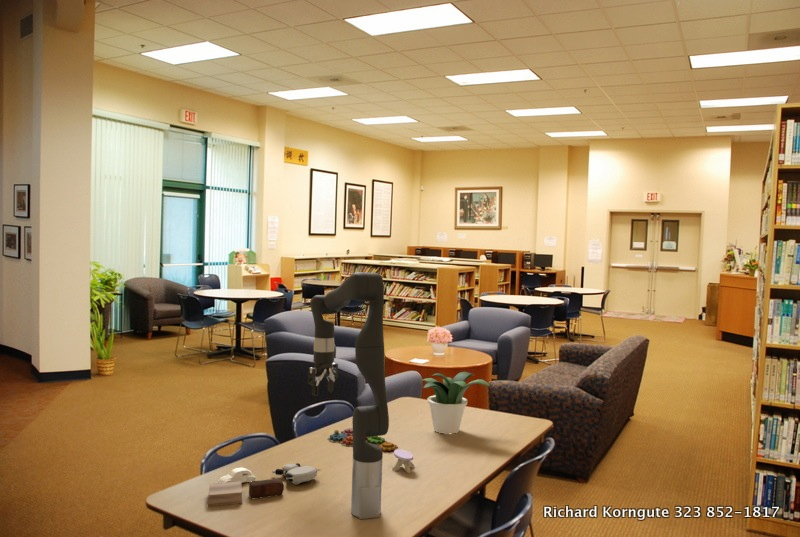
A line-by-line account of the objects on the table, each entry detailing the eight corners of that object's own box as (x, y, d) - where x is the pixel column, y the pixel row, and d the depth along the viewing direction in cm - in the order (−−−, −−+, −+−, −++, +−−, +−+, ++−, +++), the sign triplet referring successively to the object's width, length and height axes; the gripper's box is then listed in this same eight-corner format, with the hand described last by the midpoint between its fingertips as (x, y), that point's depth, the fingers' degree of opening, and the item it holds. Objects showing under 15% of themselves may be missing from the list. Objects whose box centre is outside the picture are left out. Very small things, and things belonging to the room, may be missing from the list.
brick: (251, 500, 194) (251, 486, 194) (248, 495, 198) (249, 481, 198) (283, 495, 199) (284, 481, 199) (280, 490, 203) (280, 476, 203)
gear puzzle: (405, 448, 250) (406, 438, 250) (381, 458, 237) (382, 448, 237) (349, 432, 268) (349, 423, 268) (323, 441, 255) (324, 431, 255)
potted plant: (474, 448, 251) (476, 387, 250) (401, 432, 268) (403, 376, 267) (501, 429, 278) (503, 374, 277) (433, 416, 296) (435, 364, 295)
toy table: (387, 464, 229) (388, 450, 229) (410, 463, 232) (410, 448, 232) (395, 474, 220) (396, 459, 220) (418, 472, 223) (419, 457, 223)
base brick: (242, 503, 191) (242, 492, 191) (207, 506, 188) (208, 495, 188) (241, 491, 200) (241, 481, 200) (208, 494, 197) (208, 483, 197)
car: (249, 476, 214) (249, 463, 214) (256, 482, 209) (256, 468, 209) (216, 483, 207) (216, 470, 207) (223, 490, 202) (223, 476, 202)
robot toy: (269, 479, 214) (293, 489, 203) (269, 466, 214) (293, 476, 203) (298, 471, 222) (323, 480, 212) (298, 459, 222) (323, 467, 212)
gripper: (319, 353, 213) (317, 398, 213) (344, 348, 225) (343, 391, 225) (303, 350, 217) (302, 395, 217) (328, 346, 229) (327, 388, 229)
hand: (322, 393), depth 221 cm, fingers open, 8 cm apart
